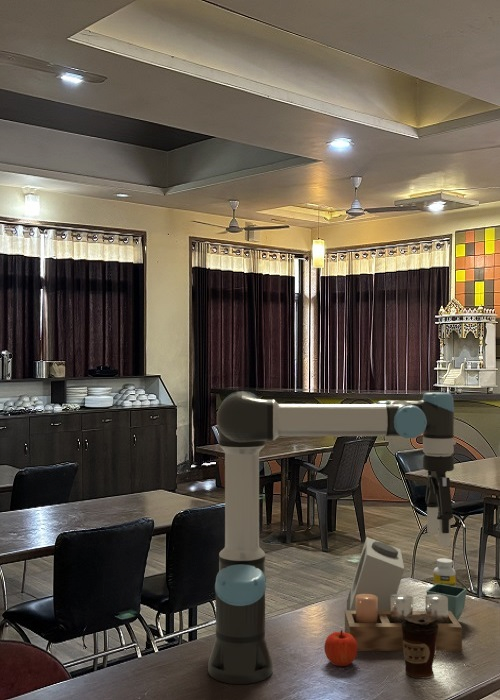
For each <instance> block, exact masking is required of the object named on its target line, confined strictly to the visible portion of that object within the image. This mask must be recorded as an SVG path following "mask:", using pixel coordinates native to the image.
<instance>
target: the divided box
mask: <svg viewBox="0 0 500 700" xmlns="http://www.w3.org/2000/svg"><path fill="white" fill-rule="evenodd" d="M417 614H418V615H426V610H413V615H417ZM344 633H349V634H351V635H352V636H353V637H354V639H355V640H356V642H357V645H358V651H360V652H361V651H371V652H372V651H373V652H374V651H375V652H376V651H378V652H380V651H381V652H385V651H386V652H387V651H388V652H393V651H394V652H395V651H397V652H398V651H400V652H403V632H402V623H391V611H378V623H356V611H351V610H347V609H346V610H344ZM462 651H463V627H462V625H461V624H460V622H459V620H458V621H457V619H456V618H455V617H454V615H453V614H452V612H451V611H448V624H438V633H437V637H436V651H435V652H462Z"/></svg>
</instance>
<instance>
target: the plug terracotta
mask: <svg viewBox="0 0 500 700" xmlns="http://www.w3.org/2000/svg"><path fill="white" fill-rule="evenodd" d="M356 623H378V597H377V596H375V595H372V594H359V595H356Z"/></svg>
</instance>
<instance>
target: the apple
mask: <svg viewBox="0 0 500 700" xmlns="http://www.w3.org/2000/svg"><path fill="white" fill-rule="evenodd" d="M323 647H324V654H325V656H326V658H327V659H328V661H329V662H330V663H331V664H332V665H334V666H336V667H346V666H348V665H351V664H352V663H353V662H354V660H355V658H356V657H357V654H358V651H359V650H358V645H357V642H356V640H355V639H354V637H353V636H352V635H351V634H349V633H345V631H343V630H342V629H341V630H340V631H334V632H332V633H330V634H329V635H328V636H327V637H326V640H325V642H324V646H323Z"/></svg>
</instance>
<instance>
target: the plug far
mask: <svg viewBox="0 0 500 700" xmlns="http://www.w3.org/2000/svg"><path fill="white" fill-rule="evenodd" d="M425 611H426V615H427V616H431V617H433V618H435V619H436V621H435V622H436V623H437V624H448V597H446V596H444V595H440V594H429V595H427V594H426V595H425Z"/></svg>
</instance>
